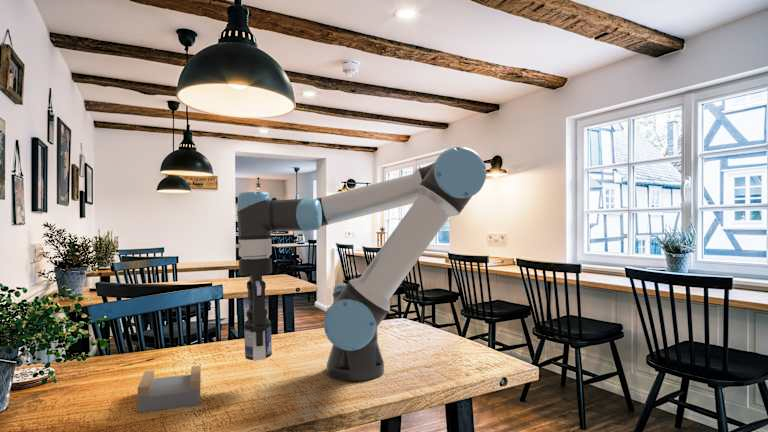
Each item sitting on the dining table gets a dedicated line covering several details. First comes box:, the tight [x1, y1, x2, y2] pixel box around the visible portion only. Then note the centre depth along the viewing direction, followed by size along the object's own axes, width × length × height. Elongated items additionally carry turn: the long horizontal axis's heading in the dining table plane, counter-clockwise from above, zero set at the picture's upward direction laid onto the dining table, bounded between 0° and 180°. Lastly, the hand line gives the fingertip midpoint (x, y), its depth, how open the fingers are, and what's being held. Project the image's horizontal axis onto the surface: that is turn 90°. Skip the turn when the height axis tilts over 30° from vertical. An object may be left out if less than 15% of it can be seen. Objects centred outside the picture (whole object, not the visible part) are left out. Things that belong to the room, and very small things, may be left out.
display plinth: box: [136, 365, 202, 414], centre depth 102 cm, size 12×12×5 cm
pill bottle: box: [243, 308, 273, 361], centre depth 106 cm, size 6×6×11 cm
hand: (258, 355), depth 106 cm, fingers closed on pill bottle, 6 cm apart
